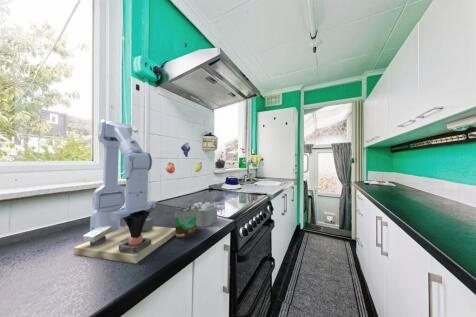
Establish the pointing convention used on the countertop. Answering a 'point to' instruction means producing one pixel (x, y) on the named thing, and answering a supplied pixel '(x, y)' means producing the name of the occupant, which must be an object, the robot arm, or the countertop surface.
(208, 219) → the lumpy-topped squat cylinder
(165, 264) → the countertop surface
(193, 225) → the food container
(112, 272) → the countertop surface
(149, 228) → the slider knob
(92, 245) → the control board
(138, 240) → the push button
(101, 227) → the rocker switch
